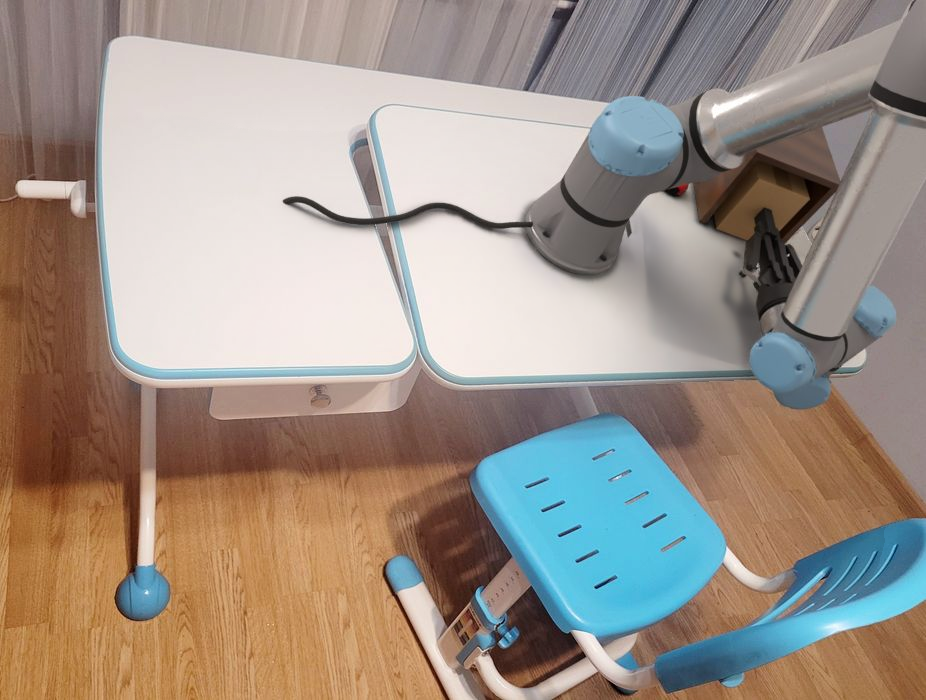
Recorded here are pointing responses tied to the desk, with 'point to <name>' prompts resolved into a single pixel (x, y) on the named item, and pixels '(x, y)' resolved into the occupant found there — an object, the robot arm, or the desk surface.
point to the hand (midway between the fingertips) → (762, 214)
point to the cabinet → (793, 155)
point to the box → (761, 200)
